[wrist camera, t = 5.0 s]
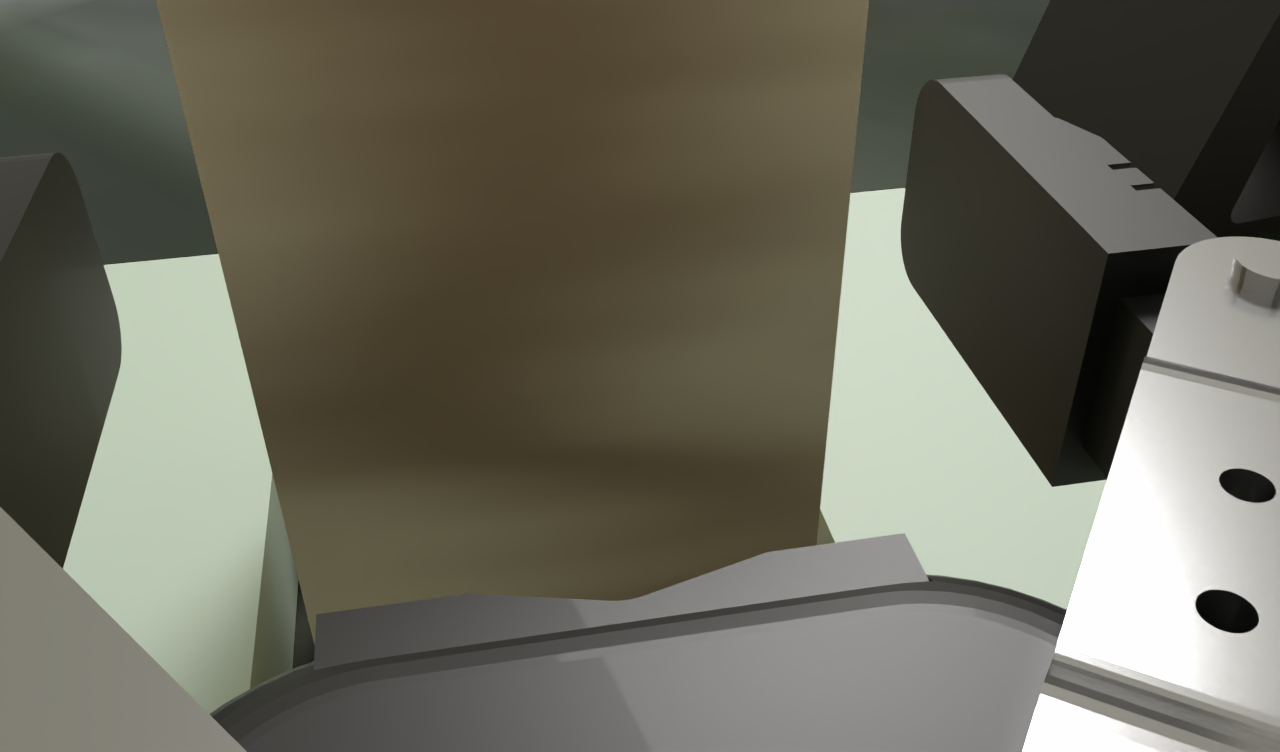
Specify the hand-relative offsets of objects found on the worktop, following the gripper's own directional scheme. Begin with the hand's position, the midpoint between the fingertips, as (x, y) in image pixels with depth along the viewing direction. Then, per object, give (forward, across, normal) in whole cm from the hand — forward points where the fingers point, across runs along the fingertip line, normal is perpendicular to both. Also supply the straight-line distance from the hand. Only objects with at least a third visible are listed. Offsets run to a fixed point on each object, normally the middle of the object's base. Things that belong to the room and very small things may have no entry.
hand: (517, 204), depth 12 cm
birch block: (0, 0, +7) cm, 7 cm away
